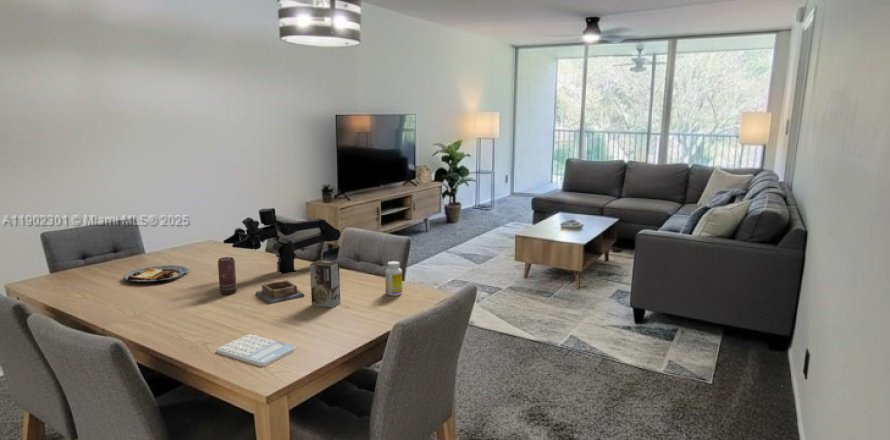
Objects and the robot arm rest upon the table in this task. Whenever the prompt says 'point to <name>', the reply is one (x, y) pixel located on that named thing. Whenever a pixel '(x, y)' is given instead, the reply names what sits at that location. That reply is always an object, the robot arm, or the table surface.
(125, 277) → the food plate
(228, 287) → the can
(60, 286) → the table surface
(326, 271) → the coffee box
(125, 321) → the table surface
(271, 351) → the calculator
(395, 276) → the supplement bottle
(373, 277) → the table surface
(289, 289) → the collar
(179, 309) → the table surface
